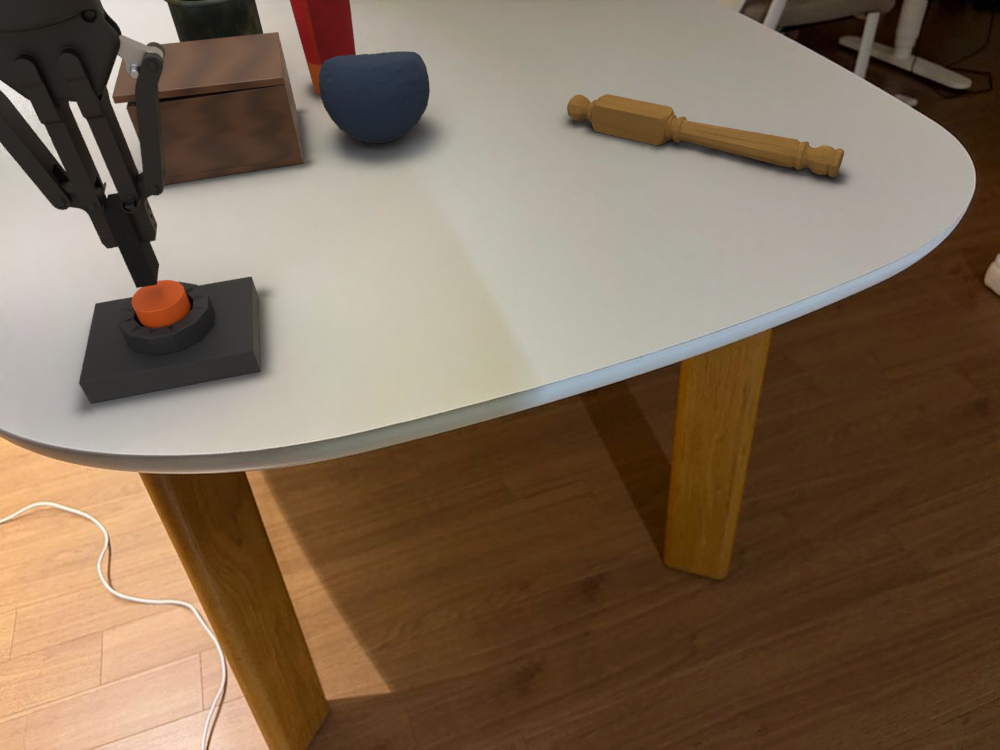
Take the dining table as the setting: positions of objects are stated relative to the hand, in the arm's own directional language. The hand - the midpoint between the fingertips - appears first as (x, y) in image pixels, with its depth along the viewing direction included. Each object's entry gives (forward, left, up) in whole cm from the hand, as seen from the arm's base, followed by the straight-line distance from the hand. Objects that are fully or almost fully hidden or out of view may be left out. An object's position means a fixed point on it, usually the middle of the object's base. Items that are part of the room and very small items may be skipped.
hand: (147, 275), depth 61 cm
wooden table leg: (+53, +18, -7) cm, 57 cm away
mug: (+4, +53, -7) cm, 53 cm away
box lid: (+4, +34, +2) cm, 34 cm away
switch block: (0, 0, -7) cm, 7 cm away
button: (0, 0, -4) cm, 4 cm away
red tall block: (+17, +46, -7) cm, 49 cm away
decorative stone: (+21, +31, -7) cm, 38 cm away
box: (+4, +34, -7) cm, 35 cm away
